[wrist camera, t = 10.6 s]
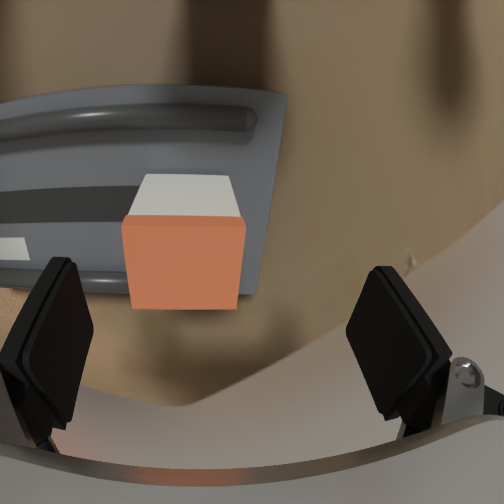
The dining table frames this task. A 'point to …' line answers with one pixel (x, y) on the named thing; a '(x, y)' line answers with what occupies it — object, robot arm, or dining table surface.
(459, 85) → the dining table surface
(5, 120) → the panel
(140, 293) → the lever
